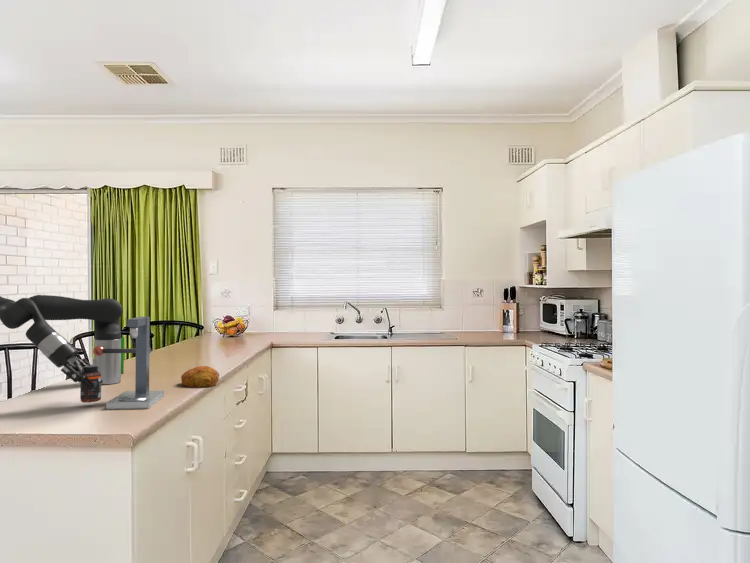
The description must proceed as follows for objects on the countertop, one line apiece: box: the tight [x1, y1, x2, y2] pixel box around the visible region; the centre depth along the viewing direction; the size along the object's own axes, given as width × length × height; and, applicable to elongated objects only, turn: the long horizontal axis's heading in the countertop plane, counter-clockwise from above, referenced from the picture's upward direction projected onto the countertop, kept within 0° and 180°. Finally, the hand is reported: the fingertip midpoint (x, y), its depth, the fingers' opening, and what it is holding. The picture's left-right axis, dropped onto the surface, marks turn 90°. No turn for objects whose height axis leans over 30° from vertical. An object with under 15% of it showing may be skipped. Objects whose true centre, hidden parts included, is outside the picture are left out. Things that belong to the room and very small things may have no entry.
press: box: [105, 316, 165, 410], centre depth 179 cm, size 13×18×28 cm
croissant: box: [180, 365, 220, 388], centre depth 212 cm, size 14×16×8 cm
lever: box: [92, 346, 152, 356], centre depth 188 cm, size 19×4×4 cm, turn 97°
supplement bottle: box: [79, 364, 102, 403], centre depth 174 cm, size 6×6×11 cm
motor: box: [121, 336, 125, 375], centre depth 234 cm, size 10×9×20 cm
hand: (96, 385), depth 174 cm, fingers closed on supplement bottle, 6 cm apart
